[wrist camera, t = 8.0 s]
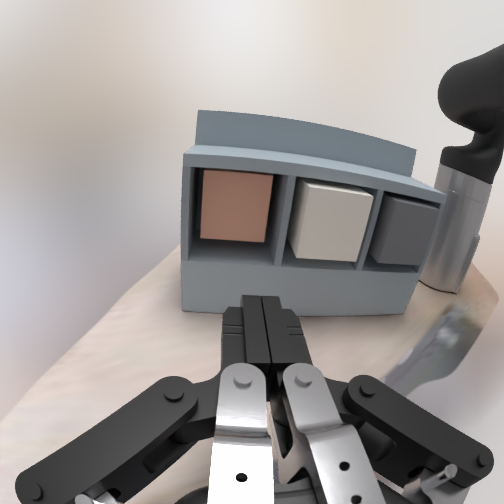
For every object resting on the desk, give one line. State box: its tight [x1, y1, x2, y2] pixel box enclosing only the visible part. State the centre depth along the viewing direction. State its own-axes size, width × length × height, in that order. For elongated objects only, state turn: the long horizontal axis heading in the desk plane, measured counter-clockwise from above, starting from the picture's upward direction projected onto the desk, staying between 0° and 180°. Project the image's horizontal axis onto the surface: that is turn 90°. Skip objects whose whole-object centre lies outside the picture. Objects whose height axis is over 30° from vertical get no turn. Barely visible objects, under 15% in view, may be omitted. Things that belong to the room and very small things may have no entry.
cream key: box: [286, 176, 373, 262], centre depth 24 cm, size 5×6×6 cm
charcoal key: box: [368, 191, 440, 266], centre depth 25 cm, size 5×6×6 cm
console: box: [181, 110, 447, 316], centre depth 27 cm, size 9×25×18 cm, turn 94°
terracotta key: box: [200, 168, 273, 242], centre depth 25 cm, size 5×6×6 cm
